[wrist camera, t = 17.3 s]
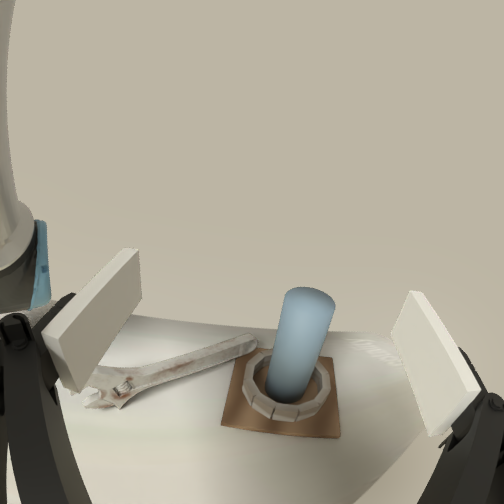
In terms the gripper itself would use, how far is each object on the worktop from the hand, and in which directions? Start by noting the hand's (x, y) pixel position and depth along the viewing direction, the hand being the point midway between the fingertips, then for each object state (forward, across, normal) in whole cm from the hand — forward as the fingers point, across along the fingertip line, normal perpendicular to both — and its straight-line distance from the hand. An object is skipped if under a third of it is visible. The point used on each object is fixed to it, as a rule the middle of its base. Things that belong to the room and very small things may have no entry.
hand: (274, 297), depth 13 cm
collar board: (+17, +6, -28) cm, 33 cm away
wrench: (+15, -10, -28) cm, 33 cm away
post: (+17, +6, -27) cm, 33 cm away
